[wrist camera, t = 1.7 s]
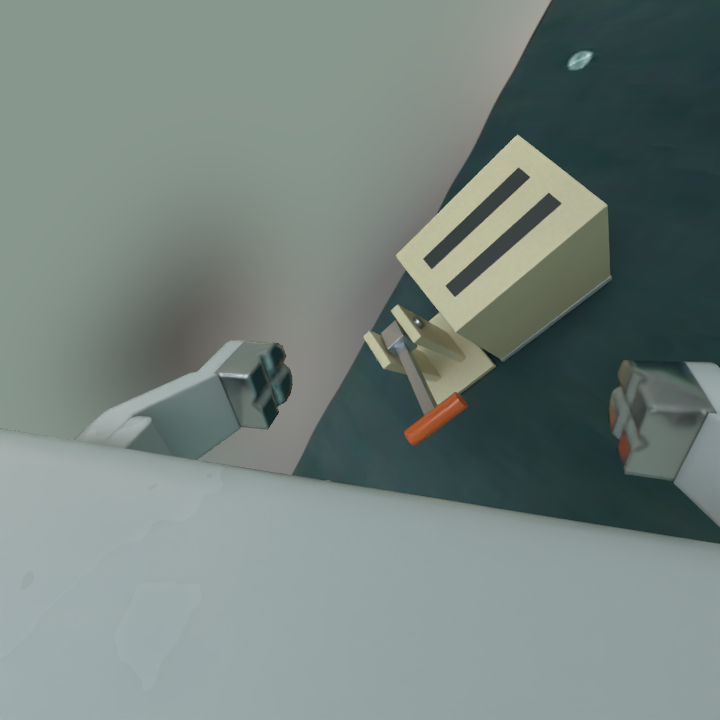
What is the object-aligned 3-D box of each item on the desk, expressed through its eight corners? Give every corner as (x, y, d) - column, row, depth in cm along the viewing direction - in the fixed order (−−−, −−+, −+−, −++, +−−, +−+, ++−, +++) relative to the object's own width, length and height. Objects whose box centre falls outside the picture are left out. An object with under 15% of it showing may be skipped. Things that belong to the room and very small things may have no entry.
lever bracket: (496, 366, 47) (454, 345, 35) (439, 409, 50) (383, 404, 38) (449, 308, 52) (397, 271, 39) (399, 351, 55) (337, 329, 43)
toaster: (612, 279, 42) (610, 203, 28) (503, 362, 47) (454, 333, 33) (547, 221, 46) (517, 131, 32) (454, 302, 51) (393, 255, 37)
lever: (473, 412, 31) (456, 400, 30) (421, 450, 33) (404, 440, 32) (421, 320, 41) (407, 308, 40) (384, 353, 43) (369, 343, 42)
